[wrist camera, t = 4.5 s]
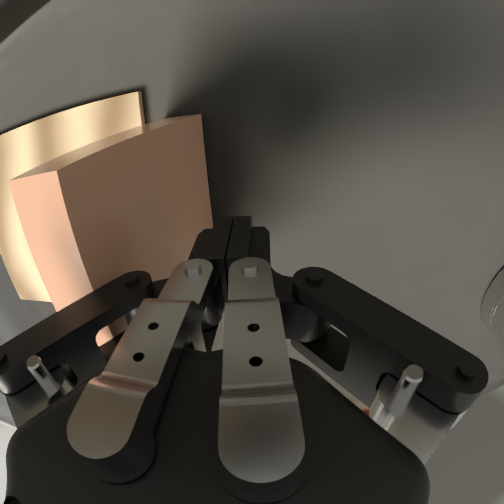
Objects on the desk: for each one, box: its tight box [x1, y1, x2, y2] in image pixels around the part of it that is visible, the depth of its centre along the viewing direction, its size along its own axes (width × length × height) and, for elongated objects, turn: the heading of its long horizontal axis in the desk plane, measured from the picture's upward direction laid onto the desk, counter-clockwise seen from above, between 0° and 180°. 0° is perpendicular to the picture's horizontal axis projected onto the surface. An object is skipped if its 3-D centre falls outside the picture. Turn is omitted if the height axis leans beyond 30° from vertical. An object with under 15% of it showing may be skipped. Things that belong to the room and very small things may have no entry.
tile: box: [9, 114, 213, 346], centre depth 14 cm, size 2×10×12 cm, turn 3°
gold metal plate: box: [0, 91, 145, 302], centre depth 20 cm, size 18×16×1 cm
